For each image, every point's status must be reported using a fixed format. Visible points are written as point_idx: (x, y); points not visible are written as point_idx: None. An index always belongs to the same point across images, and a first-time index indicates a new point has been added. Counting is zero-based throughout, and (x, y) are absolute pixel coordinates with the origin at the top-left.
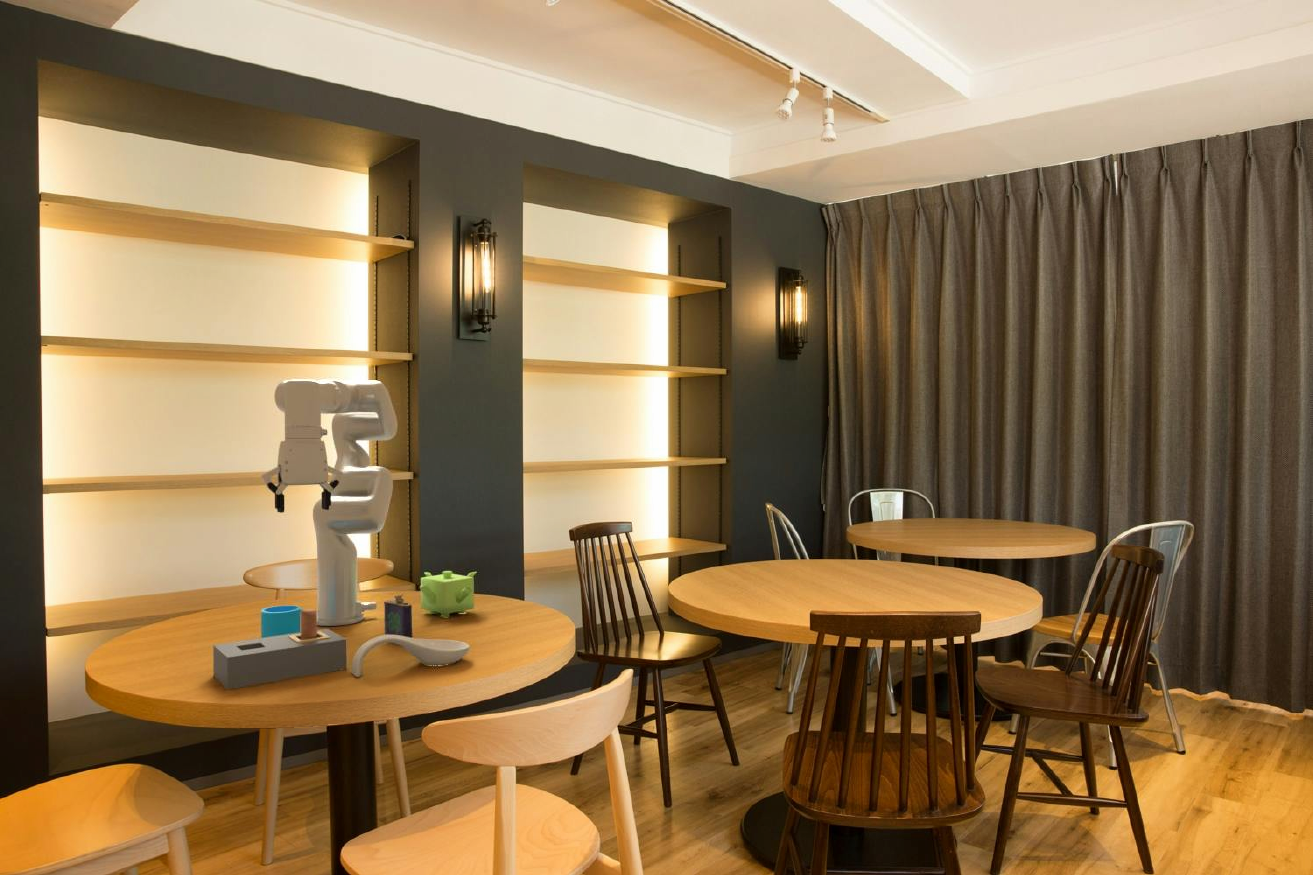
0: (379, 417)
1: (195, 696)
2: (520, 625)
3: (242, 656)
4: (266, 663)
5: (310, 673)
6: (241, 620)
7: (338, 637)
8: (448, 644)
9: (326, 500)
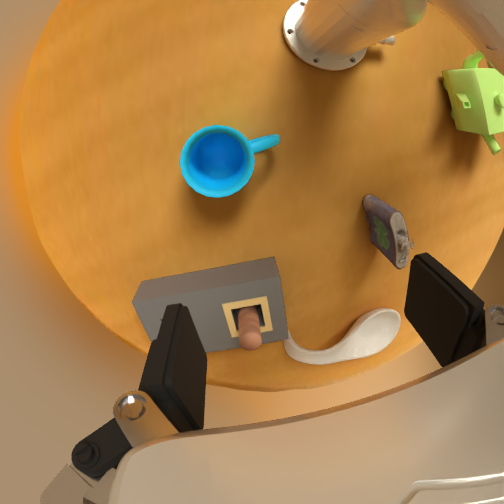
0: None
1: (141, 340)
2: (484, 215)
3: None
4: None
5: None
6: None
7: (282, 328)
8: (390, 313)
9: (428, 341)
